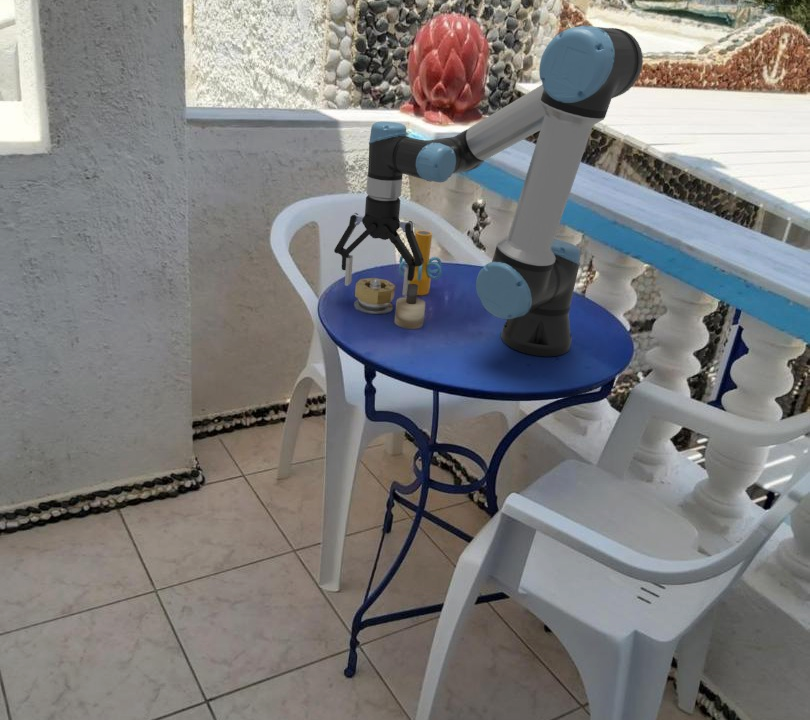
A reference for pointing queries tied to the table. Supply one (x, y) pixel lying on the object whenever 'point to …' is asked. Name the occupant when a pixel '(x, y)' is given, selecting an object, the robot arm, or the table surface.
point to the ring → (374, 291)
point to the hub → (373, 308)
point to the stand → (410, 309)
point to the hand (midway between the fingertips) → (376, 288)
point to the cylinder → (423, 271)
